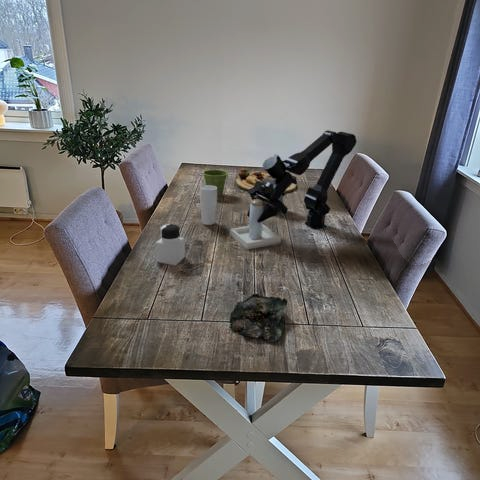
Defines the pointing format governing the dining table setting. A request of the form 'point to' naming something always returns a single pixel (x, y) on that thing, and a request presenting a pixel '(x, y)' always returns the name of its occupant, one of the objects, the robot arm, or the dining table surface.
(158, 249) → the medicine bottle
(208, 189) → the drinking glass
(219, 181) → the plant pot
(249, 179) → the wooden plate with food
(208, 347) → the dining table surface
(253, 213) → the spice jar
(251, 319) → the decorative rock
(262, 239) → the white square dish
